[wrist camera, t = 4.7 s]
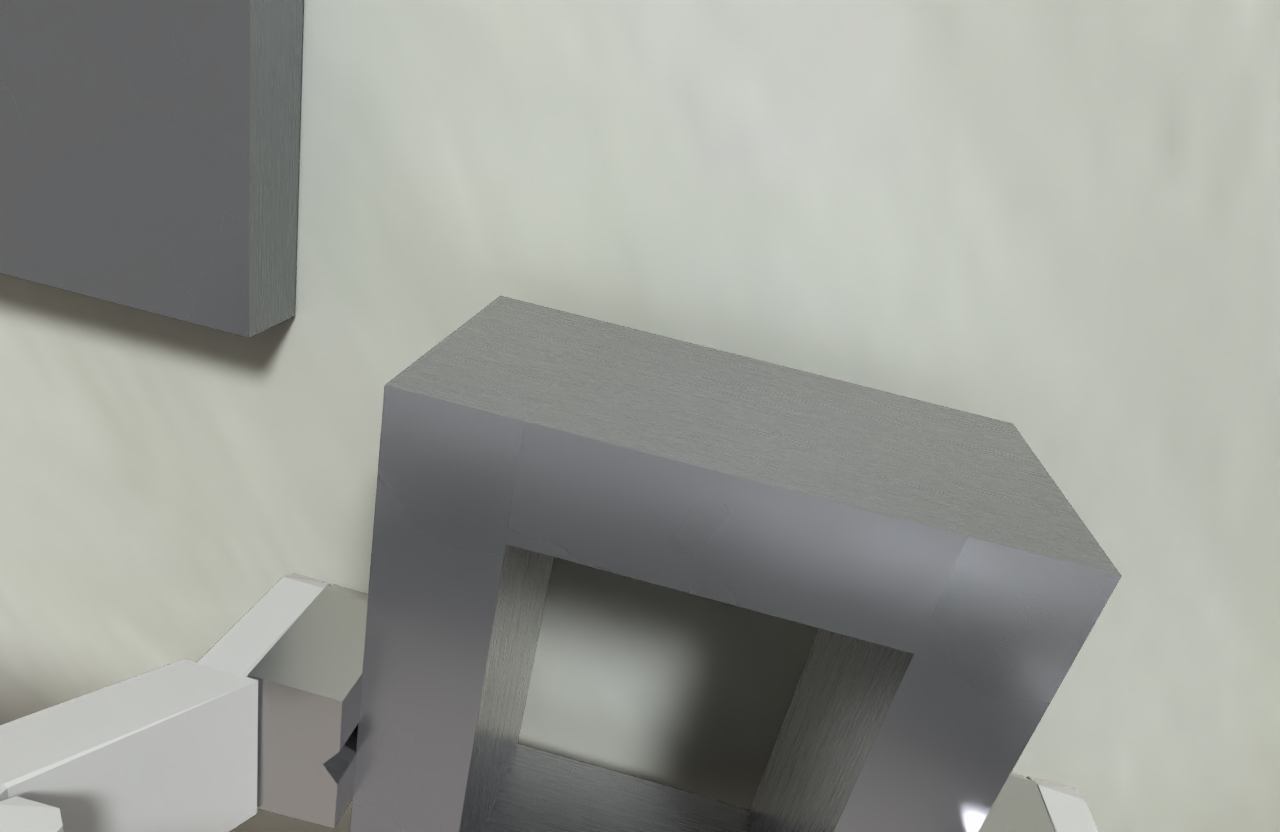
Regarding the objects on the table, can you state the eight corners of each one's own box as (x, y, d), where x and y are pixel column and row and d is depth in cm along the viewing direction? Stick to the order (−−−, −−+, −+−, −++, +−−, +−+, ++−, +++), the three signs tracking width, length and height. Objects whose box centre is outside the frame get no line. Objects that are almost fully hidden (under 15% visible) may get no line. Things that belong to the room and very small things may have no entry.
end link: (1013, 424, 9) (1121, 575, 6) (805, 884, 12) (815, 1119, 9) (500, 295, 9) (385, 385, 6) (434, 777, 12) (338, 972, 10)
